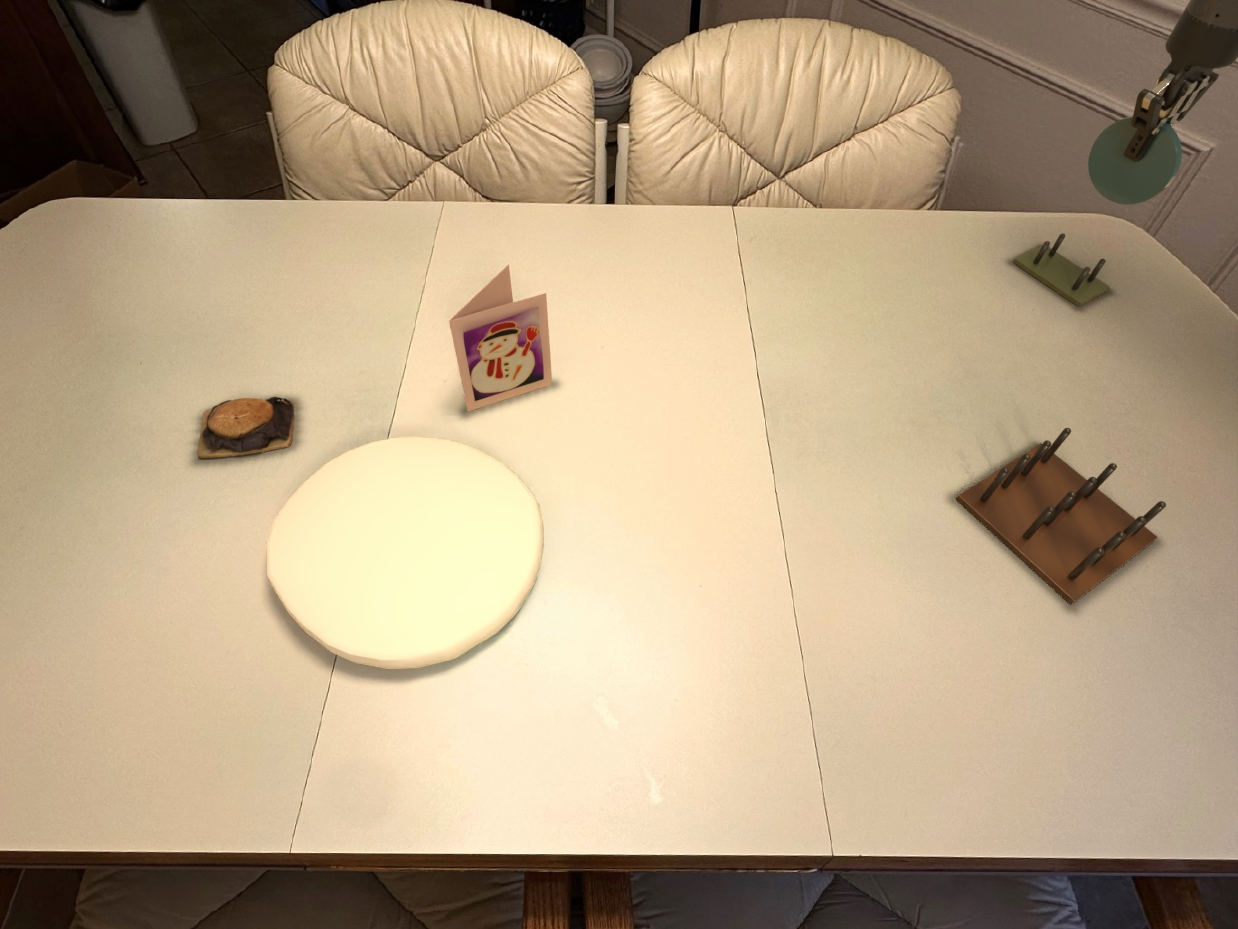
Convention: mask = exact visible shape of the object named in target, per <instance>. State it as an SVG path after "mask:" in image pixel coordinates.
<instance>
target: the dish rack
mask: <svg viewBox="0 0 1238 929" xmlns="http://www.w3.org/2000/svg"><path fill="white" fill-rule="evenodd" d="M1071 433H1072V429H1071V427H1065V428H1063V430H1062V431H1061V432H1060V433H1059V435H1058V436H1057V437H1056V438H1055V440H1054V441H1053V442H1051V440H1048V439H1047V440H1044V441H1043V442H1041V443H1039V444H1037V445H1036V446H1034V447H1033V448H1031V449H1029V450H1028V451H1026V452H1024V453H1023V454H1021V455H1020V456H1018V457H1017V458H1015V459H1013V460H1012V461H1010V462H1008V463H1007V464H1005V465H1003V467H1000V468H999V469H997V470H996V471H994V472H993V473H991V474H989V475H988V476H987V477H985V478H983V479H982V480H980V481H979V482H977V483H976V484H974V485H972V486H971V487H968V489H966V490H964V491H962V492H961V493H960V494H958V495H957V496H956V498H955V500H956V501H957V502H959V504H961V505H962V506H963V507H964V508H965V509H966V510H967V511H969V513H970V514H971V515H973V517H975V518H976V519H977V520H978V521H979V522H980V523H981V524H982V525H983V526H984V527H986V529H988V530H989V531H990V532H991V533H992V534H993V535H994V536H996V538H997V539H999V540H1000V541H1001V542H1002V543H1003V544H1004V545H1005V546H1006V547H1007V548H1009V549H1010V550H1011V551H1012V552H1013V553H1014V554H1015V555H1016V556H1017V557H1018V558H1020V560H1021V561H1022V562H1024V563H1025V564H1026V565H1027V566H1028V567H1029V568H1030V569H1031V570H1033V571H1034V572H1035V573H1036V574H1037V575H1038V576H1039V577H1040V579H1042V580H1043V581H1044V582H1046V583H1047V585H1049V586H1050V588H1052V589H1053V590H1054V591H1056V593H1058V594H1059V595H1060V596H1061V597H1062V598H1063V599H1064V600H1066V601H1067V602H1068V603H1069V605H1072V604H1073V603H1075V602H1076V601H1077V600H1079V599H1081V597H1083V596H1084V595H1086V593H1088V592H1089V591H1091V590H1092V589H1093V588H1094V587H1095V586H1097V585H1098V584H1099V583H1101V582H1102V581H1104V580H1105V579H1106V578H1108V576H1110V575H1111V574H1112V573H1114V572H1115V571H1116V570H1118V569H1119V568H1121V567H1122V566H1123V565H1125V564H1126V563H1127V562H1128V561H1130V560H1131V559H1132V558H1133V557H1135V556H1136V555H1138V554H1140V552H1141V551H1143V550H1144V549H1146V548H1147V547H1148V546H1149V545H1150V544H1152V543H1153V542H1154V541H1155V540H1157V539H1158V536H1157V535H1156V534H1155V533H1154V532H1152V531H1151V530H1150V529H1148V528H1147V527H1146V525H1148V524H1149V523H1150V522H1151V521H1152V520H1153V519H1154V518H1155V517H1156V516H1158V514H1160V513H1161V512H1163V510H1164V509H1165V508H1166V507H1167V503H1166V502H1165V501H1163V500H1159V501H1158V502H1156V503H1155V505H1153V507H1151V508H1150V509H1149V510H1148V511H1147V512H1146V513H1144V514H1143V515H1139V516H1137V518H1135V517H1134V516H1132V515H1131V514H1130V513H1129V512H1127V511H1126V510H1125V509H1124V508H1123V507H1121V506H1120V505H1119V504H1118V503H1116V502H1115V501H1114V500H1112V499H1111V498H1110V497H1109V496H1108V495H1107V494H1105V493H1104V492H1102V491H1101V490H1100V489H1099V488H1100V487H1101V486H1102V485H1103V483H1104V482H1106V480H1108V478H1109V477H1110V476H1111V475H1112V474H1113V473H1114V472H1115V471H1116V470H1117V468H1118V465H1117V464H1116V463H1115V462H1110V463H1109V464H1108V465H1107V467H1105V469H1104V470H1102V472H1101V473H1100V474H1099V475H1098V476H1097V477H1095V476H1089V477H1088V479H1087V478H1085V477H1084V476H1083V475H1081V474H1080V473H1079V472H1078V471H1077V470H1075V469H1074V468H1073V467H1071V466H1070V465H1069V464H1068V463H1067V462H1066V461H1064V460H1063V459H1061V458H1060V457H1059V456H1058V455H1057V454H1056V452H1057V450H1058V449H1060V447H1061V446H1062V444H1064V442H1065V441H1066V440H1067V438H1068V437H1069V436H1070V434H1071Z"/></svg>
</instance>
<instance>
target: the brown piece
mask: <svg viewBox="0 0 1238 929" xmlns="http://www.w3.org/2000/svg"><path fill="white" fill-rule="evenodd" d="M294 408H295V404H294V402H293V401H292V400H289V399H287V398H283V397H279V396H272V397H271V396H270V397H269V398H267V399H262V398H255V397H254V398H253V397H252V398H251V397H243V398H235V399H227V400H224V401H222V402H220V403H218V404H216V405H214V406H212V408H209V409H207V410H205V411H204V412H203V415H202V422H201V427H200V434H199V440H198V446H197V453H196V454H197V457H198V459H205V458H206V459H211V458H213V459H214V458H223V457H224V458H228V457H237V456H241V457H243V456H245V455H252V454H257V453H262V454H264V453H265V452H268V451H273V450H282V449H285V448H289V447H291V445H292V442H293V441H294V440H293V436H294V434H293V433H294V429H295V426H294V421H295V414H294V413H295V412H294Z"/></svg>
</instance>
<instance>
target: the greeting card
mask: <svg viewBox="0 0 1238 929" xmlns="http://www.w3.org/2000/svg"><path fill="white" fill-rule="evenodd" d="M512 288H513V287H512V279H511V271H510V264H507V265H506V266H505V267H504V268H502V269H501V271H499V272H498V273H497V274H496V276H495V277H494V278H492V279H491V280H490V281H489V282H488V283H487V284H486V285H485V286H484V287H482V289H481V290H480V291H479V292H477V293H476V295H474V296H473V298H472V299H470V300H469V301H468V302H467V303H466V304H465V305H464V306H463V307H462V308H461V309H460V310H459V311H458V312H457V313H456V314H455V315H453V316H452V317H450V319H449V320H448V322H449V323H448V324H449V327H450V332H451V338H452V342H453V347H454V351H455V358H456V361H457V366H458V371H459V375H460V380H461V385H462V391H463V396H464V399H465V405H466V411H467V412H471V411H474V410H478V409H480V408H483V407H484V408H485V407H486V406H489V405H493V404H495V403H500V402H501V401H505V400H508V399H512V398H515V397H517V396H520V395H524V394H526V393H529V392H533V391H535V390H539V389H542V388H545V387H548V386H551V385H553V377H552V373H553V372H552V359H551V345H550V330H549V315H548V299H547V292H545V293H542V294H541V293H540V294H538V295H534V296H531V297H527V298H524V299H521V300H517V301H514V299H513V290H512Z"/></svg>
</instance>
